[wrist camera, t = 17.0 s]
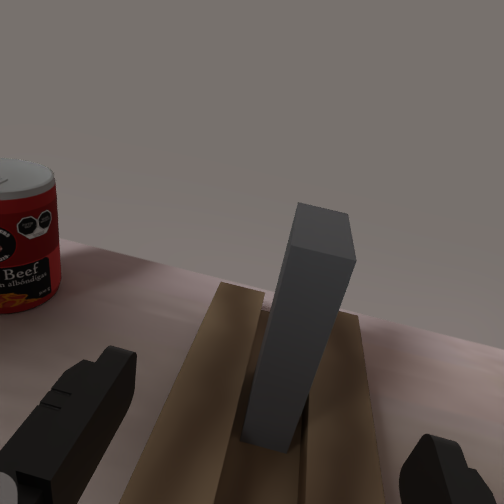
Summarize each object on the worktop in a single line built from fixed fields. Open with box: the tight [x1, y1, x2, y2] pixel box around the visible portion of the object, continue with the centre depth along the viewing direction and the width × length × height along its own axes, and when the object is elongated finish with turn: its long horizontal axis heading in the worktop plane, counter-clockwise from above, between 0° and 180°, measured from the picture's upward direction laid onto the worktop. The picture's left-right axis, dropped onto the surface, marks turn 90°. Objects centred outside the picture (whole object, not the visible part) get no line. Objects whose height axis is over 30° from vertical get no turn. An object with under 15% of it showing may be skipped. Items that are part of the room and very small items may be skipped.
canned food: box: [0, 158, 61, 314], centre depth 32 cm, size 8×8×11 cm
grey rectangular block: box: [240, 202, 356, 454], centre depth 23 cm, size 3×6×14 cm, turn 170°
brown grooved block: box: [119, 282, 385, 504], centre depth 26 cm, size 13×22×4 cm, turn 170°
